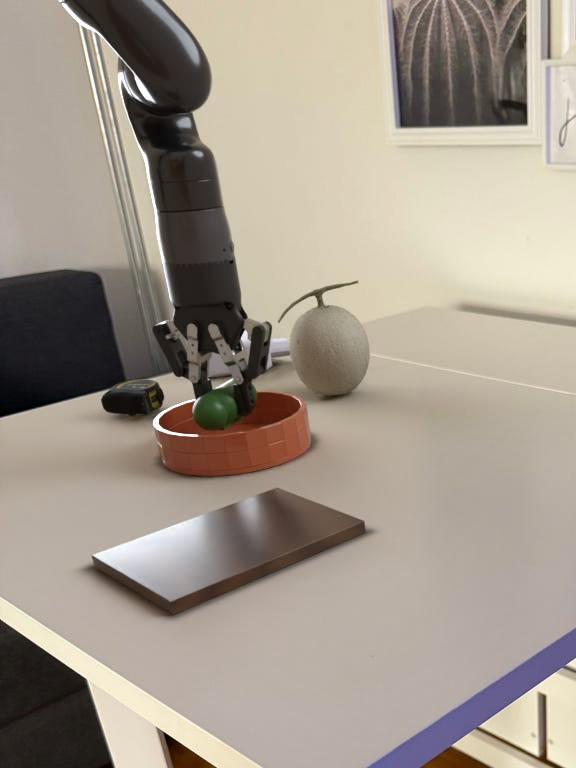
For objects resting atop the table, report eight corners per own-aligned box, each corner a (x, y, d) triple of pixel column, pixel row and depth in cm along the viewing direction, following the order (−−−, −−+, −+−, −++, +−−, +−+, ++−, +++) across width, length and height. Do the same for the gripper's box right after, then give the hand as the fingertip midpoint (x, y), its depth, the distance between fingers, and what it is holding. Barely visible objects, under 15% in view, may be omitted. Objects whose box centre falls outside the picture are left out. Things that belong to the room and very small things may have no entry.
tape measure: (103, 419, 123) (95, 391, 121) (134, 404, 129) (127, 377, 127) (146, 422, 121) (139, 393, 119) (176, 406, 127) (170, 378, 125)
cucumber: (222, 436, 102) (215, 400, 100) (189, 435, 103) (182, 399, 101) (265, 407, 112) (260, 373, 110) (235, 406, 113) (229, 373, 110)
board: (173, 615, 74) (170, 602, 74) (94, 567, 83) (90, 555, 83) (366, 532, 86) (364, 520, 86) (279, 498, 95) (277, 487, 94)
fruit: (288, 389, 131) (269, 276, 123) (369, 379, 133) (355, 268, 125) (292, 409, 122) (273, 290, 114) (379, 399, 124) (365, 280, 116)
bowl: (213, 487, 99) (204, 447, 96) (135, 455, 109) (125, 418, 107) (340, 443, 109) (335, 405, 107) (258, 417, 120) (251, 383, 117)
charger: (308, 366, 141) (208, 380, 138) (300, 353, 149) (204, 365, 145) (304, 334, 139) (201, 347, 135) (295, 323, 146) (198, 334, 143)
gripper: (119, 261, 97) (155, 422, 106) (243, 260, 94) (270, 426, 102) (157, 250, 103) (189, 403, 112) (274, 248, 100) (298, 406, 109)
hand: (227, 413), depth 107 cm, fingers closed on cucumber, 4 cm apart
